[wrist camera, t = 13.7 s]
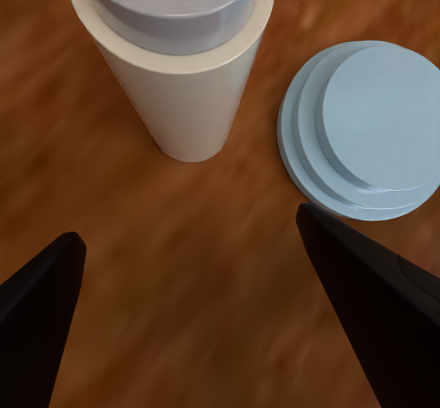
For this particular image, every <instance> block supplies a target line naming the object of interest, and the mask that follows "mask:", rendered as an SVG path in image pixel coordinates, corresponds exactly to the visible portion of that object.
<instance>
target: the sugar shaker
mask: <svg viewBox="0 0 440 408" xmlns="http://www.w3.org/2000/svg"><path fill="white" fill-rule="evenodd" d="M71 2H72V5H73V7H74V9H75V11H76V13H77V15H78V17H79V19H80V20H81V22H82V24H83V25H84V27H85V29H86V30H87V32H88V33H89V35H90V37H91V38H92V40H93V42H94V43H95V45H96V46H97V48H98V50H99V51H100V53H101V55H102V56H103V58H104V59H105V61H106V63H107V64H108V66H109V68H110V69H111V71H112V72H113V74H114V76H115V77H116V79H117V81H118V82H119V84H120V85H121V87H122V89H123V90H124V92H125V94H126V95H127V97H128V98H129V100H130V102H131V103H132V105H133V107H134V108H135V110H136V111H137V113H138V115H139V116H140V118H141V120H142V121H143V123H144V124H145V126H146V128H147V129H148V131H149V133H150V134H151V136H152V137H153V139H154V141H155V142H156V144H157V145H158V147H159V148H160V149H161V150H162V151H163V152H164V153H166V154H167V155H168V156H170V157H172V158H174V159H176V160H179V161H183V162H200V161H204V160H207V159H209V158H211V157H212V156H214V155H215V154H217V153H218V152H219V151H220V150H221V149H222V148H223V146H224V145H225V143H226V141H227V139H228V136H229V134H230V131H231V128H232V125H233V122H234V119H235V116H236V113H237V110H238V107H239V105H240V102H241V99H242V96H243V93H244V90H245V87H246V84H247V81H248V78H249V75H250V73H251V70H252V67H253V64H254V61H255V58H256V55H257V52H258V49H259V46H260V43H261V41H262V38H263V35H264V32H265V29H266V26H267V23H268V20H269V17H270V14H271V11H272V8H273V2H274V0H71Z"/></svg>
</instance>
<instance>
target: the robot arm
mask: <svg viewBox="0 0 440 408" xmlns="http://www.w3.org/2000/svg"><path fill="white" fill-rule="evenodd" d="M296 223H297V226H298V229H299V232H300V235H301V238H302V240H303V243H304V246H305V249H306V252H307V254H308V256H309V258H310V260H311V263H312V265H313V267H314V269H315V271H316V273H317V275H318V277H319V279H320V281H321V283H322V285H323V287H324V289H325V292H326V294H327V296H328V298H329V300H330V302H331V304H332V306H333V308H334V310H335V312H336V314H337V316H338V318H339V321H340V323H341V325H342V327H343V329H344V331H345V333H346V335H347V337H348V339H349V341H350V343H351V345H352V348H353V350H354V352H355V354H356V356H357V358H358V360H359V362H360V364H361V366H362V369H363V371H364V373H365V375H366V377H367V379H368V381H369V383H370V385H371V387H372V389H373V391H374V393H375V395H376V398H377V400H378V402H379V404H380V406H381V408H440V278H438V277H436V276H434V275H432V274H430V273H429V272H427V271H425V270H423V269H421V268H420V267H418V266H416V265H415V264H413V263H411V262H409V261H408V260H406V259H404V258H403V257H401V256H399V255H398V254H395V253H394V252H392V251H391V250H389V249H387V248H386V247H384V246H382V245H381V244H379V243H377V242H376V241H374V240H372V239H371V238H369V237H367V236H366V235H364V234H362V233H361V232H359V231H357V230H356V229H354V228H352V227H351V226H349V225H347V224H346V223H344V222H342V221H341V220H339V219H337V218H336V217H334V216H332V215H331V214H329V213H327V212H326V211H324V210H322V209H321V208H319V207H317V206H316V205H314V204H312V203H310V202H307V203H301V204H300V205H299V208H298V211H297V215H296ZM85 257H86V245H85V243H84V242H83V240H82V239H81V237H80V236H79V235H78V233H76V232H66V233H63V234H61V235H60V236H59V237H58V238H56V239H55V240H54V241H53V242H52V243H51V244H49V245H48V246H47V247H46V248H45V249H43V250H42V251H41V252H40V253H39V254H37V255H36V256H35V257H34V258H33V259H31V260H30V261H29V262H28V263H27V264H25V265H24V266H23V267H22V268H21V269H19V270H18V271H17V272H16V273H15V274H13V275H12V276H11V277H10V278H9V279H7V280H6V281H5V282H4V283H3V284H1V285H0V408H48V406H49V403H50V399H51V395H52V392H53V388H54V384H55V381H56V377H57V373H58V370H59V366H60V362H61V359H62V355H63V351H64V348H65V344H66V340H67V337H68V333H69V329H70V325H71V322H72V318H73V314H74V311H75V307H76V303H77V300H78V296H79V292H80V288H81V283H82V277H83V271H84V264H85Z"/></svg>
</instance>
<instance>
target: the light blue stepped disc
mask: <svg viewBox="0 0 440 408" xmlns="http://www.w3.org/2000/svg"><path fill="white" fill-rule="evenodd" d="M277 140H278V146H279V151H280V155H281V158H282V160H283V163H284V166H285V168H286V170H287V172H288V174H289V176H290V177H291V179H292V180H293V182H294V183H295V185H296V186H297V187H298V188H299V189H300V190H301V192H302V193H303V194H304V195H305V196H306V197H307V198H309V199H310V200H311V201H312V202H313V203H315V204H316V205H318V206H319V207H321V208H322V209H324V210H326V211H328V212H330V213H332V214H334V215H337V216H340V217H343V218H347V219H352V220H365V221H378V220H387V219H392V218H396V217H399V216H401V215H404V214H407V213H409V212H410V211H412V210H414V209H416V208H417V207H419V206H420V205H421V204H422V203H424V202H425V201H426V200H427V199H428V198H429V197H430V196H431V195H432V194H433V193H434V192H435V190H436V189H437V187H438V186H439V185H440V70H439V69H438V68H437V67H436V66H435V65H434V64H433V63H431V62H430V61H429V60H427V59H426V58H425V57H423V56H422V55H420V54H418V53H416V52H414V51H411V50H409V49H406V48H404V47H401V46H399V45H396V44H393V43H389V42H383V41H353V42H346V43H341V44H338V45H334V46H332V47H329V48H327V49H325V50H323V51H321V52H320V53H318V54H316V55H315V56H313V57H312V58H311V59H310V60H309V61H308V62H306V63H305V64H304V65H303V67H302V68H301V69H300V70H299V71H298V72H297V74H296V75H295V77H294V78H293V80H292V81H291V83H290V84H289V86H288V88H287V89H286V91H285V94H284V96H283V98H282V101H281V104H280V107H279V112H278V118H277Z"/></svg>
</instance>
